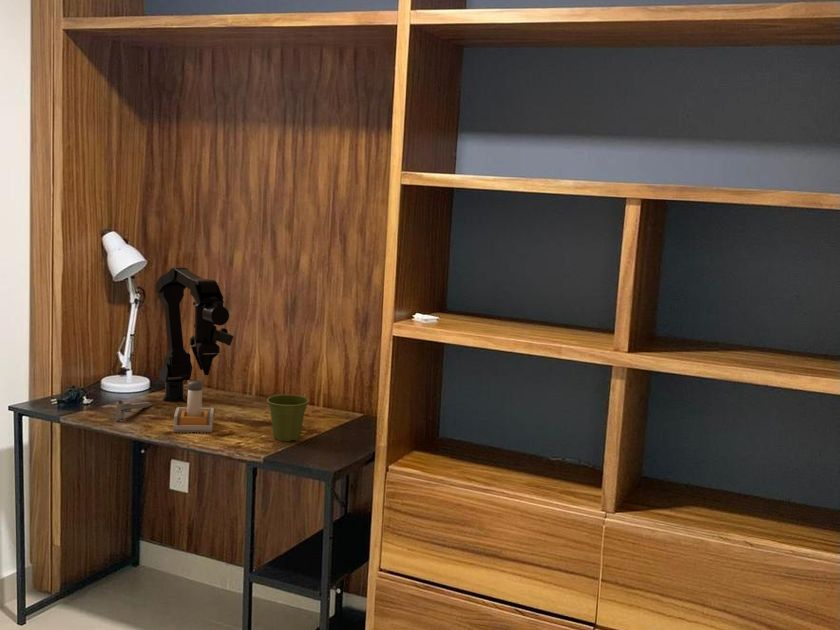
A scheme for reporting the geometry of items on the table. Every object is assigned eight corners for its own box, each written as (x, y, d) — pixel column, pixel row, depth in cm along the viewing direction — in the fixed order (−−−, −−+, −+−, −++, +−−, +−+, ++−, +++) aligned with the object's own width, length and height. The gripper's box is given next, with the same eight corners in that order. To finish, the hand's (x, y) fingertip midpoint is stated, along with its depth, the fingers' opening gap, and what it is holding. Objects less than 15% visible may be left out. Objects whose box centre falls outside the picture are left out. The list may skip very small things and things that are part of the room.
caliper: (119, 422, 247) (119, 401, 246) (115, 422, 247) (116, 401, 246) (152, 405, 267) (152, 386, 266) (148, 405, 267) (149, 386, 266)
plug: (190, 422, 248) (191, 380, 246) (203, 423, 247) (204, 381, 246) (184, 425, 244) (185, 383, 242) (197, 427, 243) (199, 384, 242)
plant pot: (263, 432, 246) (265, 394, 244) (304, 432, 249) (306, 394, 247) (266, 444, 234) (268, 404, 233) (309, 444, 237) (311, 404, 236)
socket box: (176, 422, 250) (176, 407, 249) (213, 422, 252) (213, 407, 251) (173, 432, 239) (173, 417, 239) (212, 432, 242) (212, 417, 241)
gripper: (237, 325, 251) (236, 377, 253) (226, 317, 268) (225, 366, 270) (198, 325, 247) (198, 378, 249) (190, 317, 264) (189, 367, 266)
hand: (204, 372), depth 258 cm, fingers open, 9 cm apart
